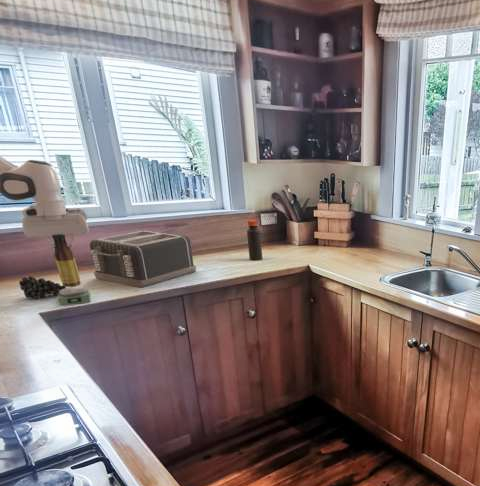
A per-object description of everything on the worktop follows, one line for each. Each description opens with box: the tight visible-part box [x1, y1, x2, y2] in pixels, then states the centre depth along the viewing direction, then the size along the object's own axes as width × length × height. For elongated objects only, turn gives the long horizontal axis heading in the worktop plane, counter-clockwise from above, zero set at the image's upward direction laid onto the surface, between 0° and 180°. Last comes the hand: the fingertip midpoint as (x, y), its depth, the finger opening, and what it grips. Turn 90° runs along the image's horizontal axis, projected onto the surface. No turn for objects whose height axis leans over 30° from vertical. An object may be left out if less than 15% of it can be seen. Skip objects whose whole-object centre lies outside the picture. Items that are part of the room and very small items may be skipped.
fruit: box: [18, 275, 67, 300], centre depth 184 cm, size 9×8×15 cm
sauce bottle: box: [51, 234, 82, 288], centre depth 176 cm, size 7×6×20 cm
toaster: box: [89, 230, 197, 289], centre depth 211 cm, size 30×36×17 cm
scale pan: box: [59, 286, 88, 296], centre depth 181 cm, size 9×9×1 cm
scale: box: [57, 287, 92, 306], centre depth 181 cm, size 10×11×3 cm
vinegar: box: [246, 219, 263, 261], centre depth 245 cm, size 7×7×20 cm
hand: (61, 247), depth 173 cm, fingers closed on sauce bottle, 4 cm apart
